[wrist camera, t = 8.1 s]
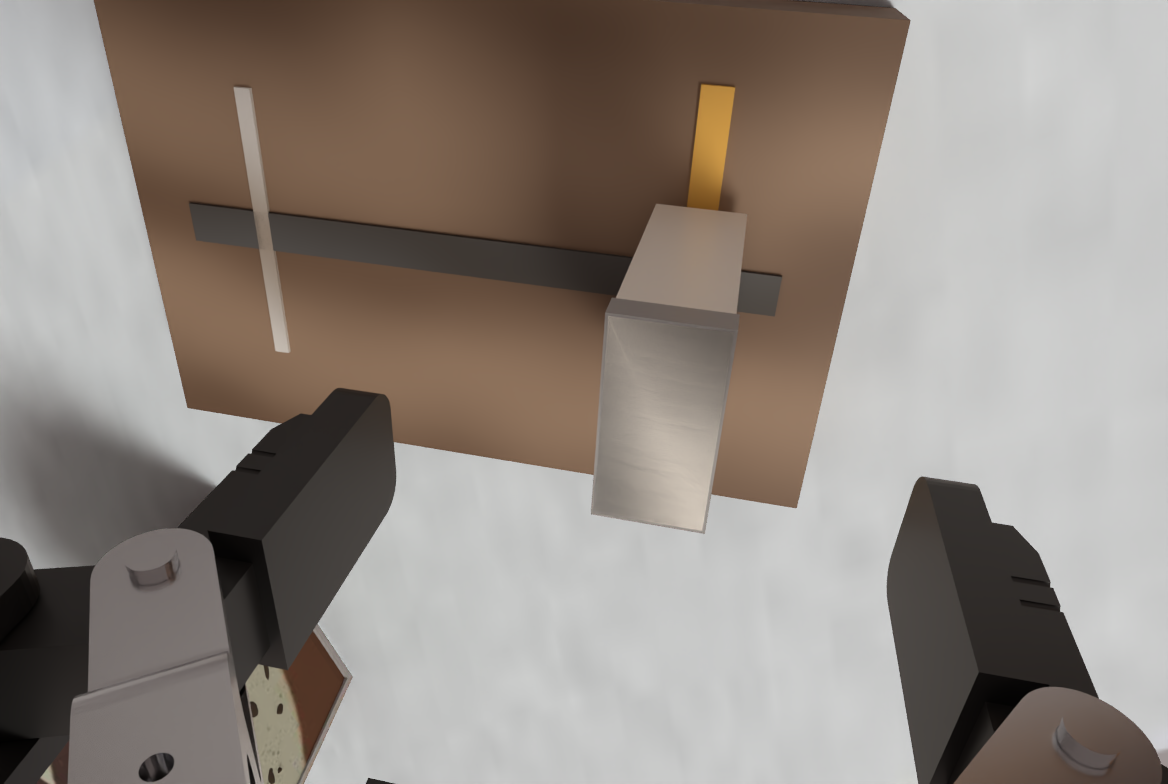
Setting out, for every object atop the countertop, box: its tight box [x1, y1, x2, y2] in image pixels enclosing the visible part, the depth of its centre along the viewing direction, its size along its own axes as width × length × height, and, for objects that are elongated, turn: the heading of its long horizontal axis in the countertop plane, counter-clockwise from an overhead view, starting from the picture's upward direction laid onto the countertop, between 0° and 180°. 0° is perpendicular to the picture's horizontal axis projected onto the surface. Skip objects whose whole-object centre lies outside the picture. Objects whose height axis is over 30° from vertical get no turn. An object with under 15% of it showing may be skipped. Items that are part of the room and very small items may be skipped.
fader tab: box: [591, 204, 747, 534], centre depth 16 cm, size 4×2×6 cm, turn 177°
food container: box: [36, 624, 352, 784], centre depth 28 cm, size 12×6×10 cm, turn 21°
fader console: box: [94, 0, 910, 508], centre depth 21 cm, size 12×18×3 cm, turn 87°
